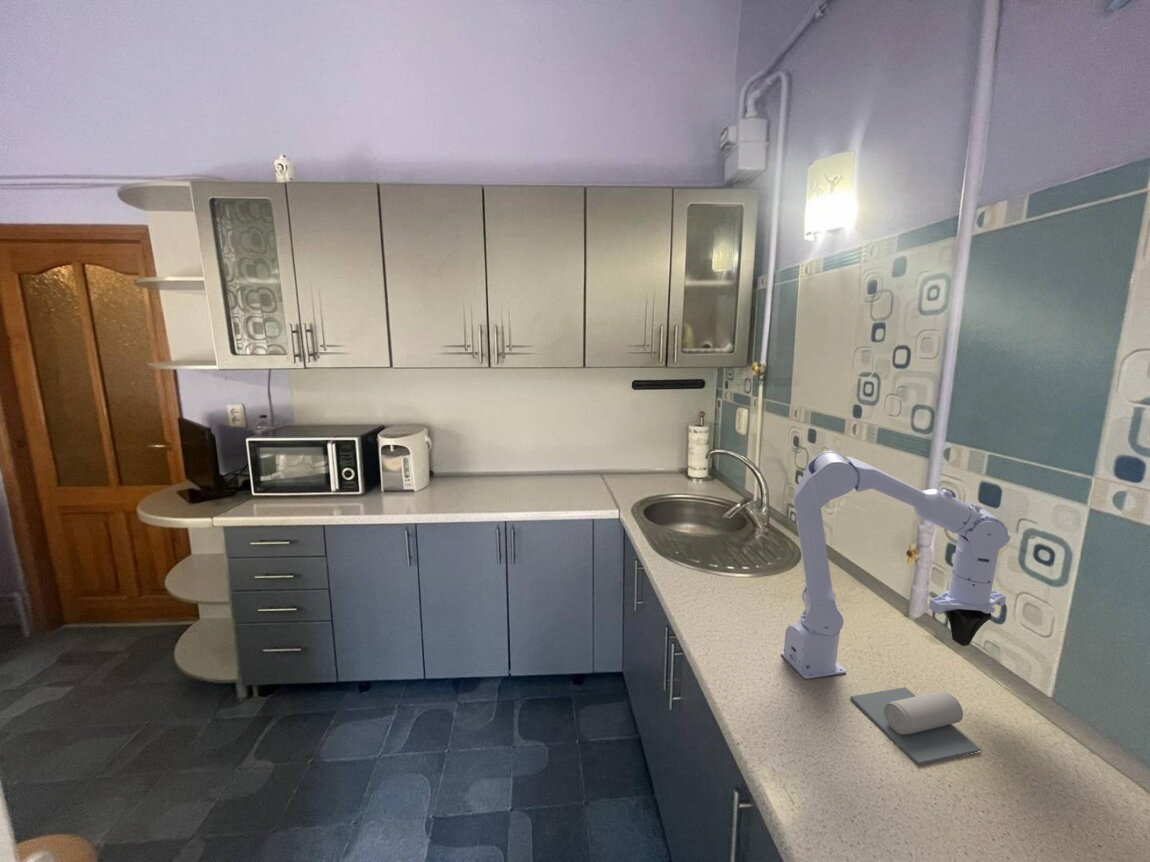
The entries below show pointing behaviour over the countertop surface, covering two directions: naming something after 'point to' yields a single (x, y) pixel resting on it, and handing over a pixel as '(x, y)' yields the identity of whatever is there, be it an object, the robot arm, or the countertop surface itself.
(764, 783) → the countertop surface
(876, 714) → the mat
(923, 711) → the beverage can
